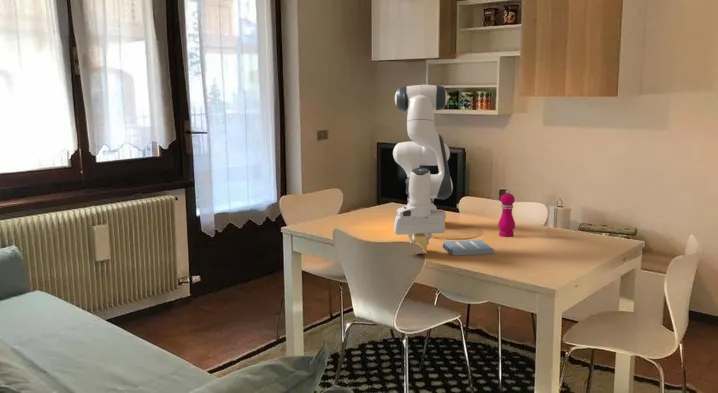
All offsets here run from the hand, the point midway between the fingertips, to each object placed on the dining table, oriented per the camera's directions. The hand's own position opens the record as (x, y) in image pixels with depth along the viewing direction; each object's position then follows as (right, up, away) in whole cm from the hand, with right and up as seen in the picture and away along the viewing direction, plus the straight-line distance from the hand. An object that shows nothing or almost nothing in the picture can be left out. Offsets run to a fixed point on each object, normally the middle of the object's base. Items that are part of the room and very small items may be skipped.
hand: (419, 244), depth 261 cm
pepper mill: (+40, +2, +27) cm, 49 cm away
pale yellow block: (0, -3, +1) cm, 3 cm away
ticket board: (+19, -2, +3) cm, 20 cm away
